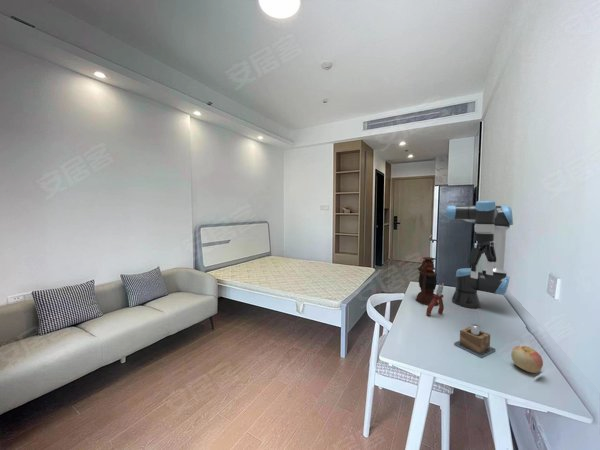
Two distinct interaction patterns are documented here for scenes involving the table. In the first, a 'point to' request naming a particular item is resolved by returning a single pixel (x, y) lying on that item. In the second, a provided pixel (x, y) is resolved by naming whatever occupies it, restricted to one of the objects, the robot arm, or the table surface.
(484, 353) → the plate with upright peg
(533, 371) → the apple
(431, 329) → the table surface
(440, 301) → the pliers
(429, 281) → the lantern
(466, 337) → the brown boxy piece
